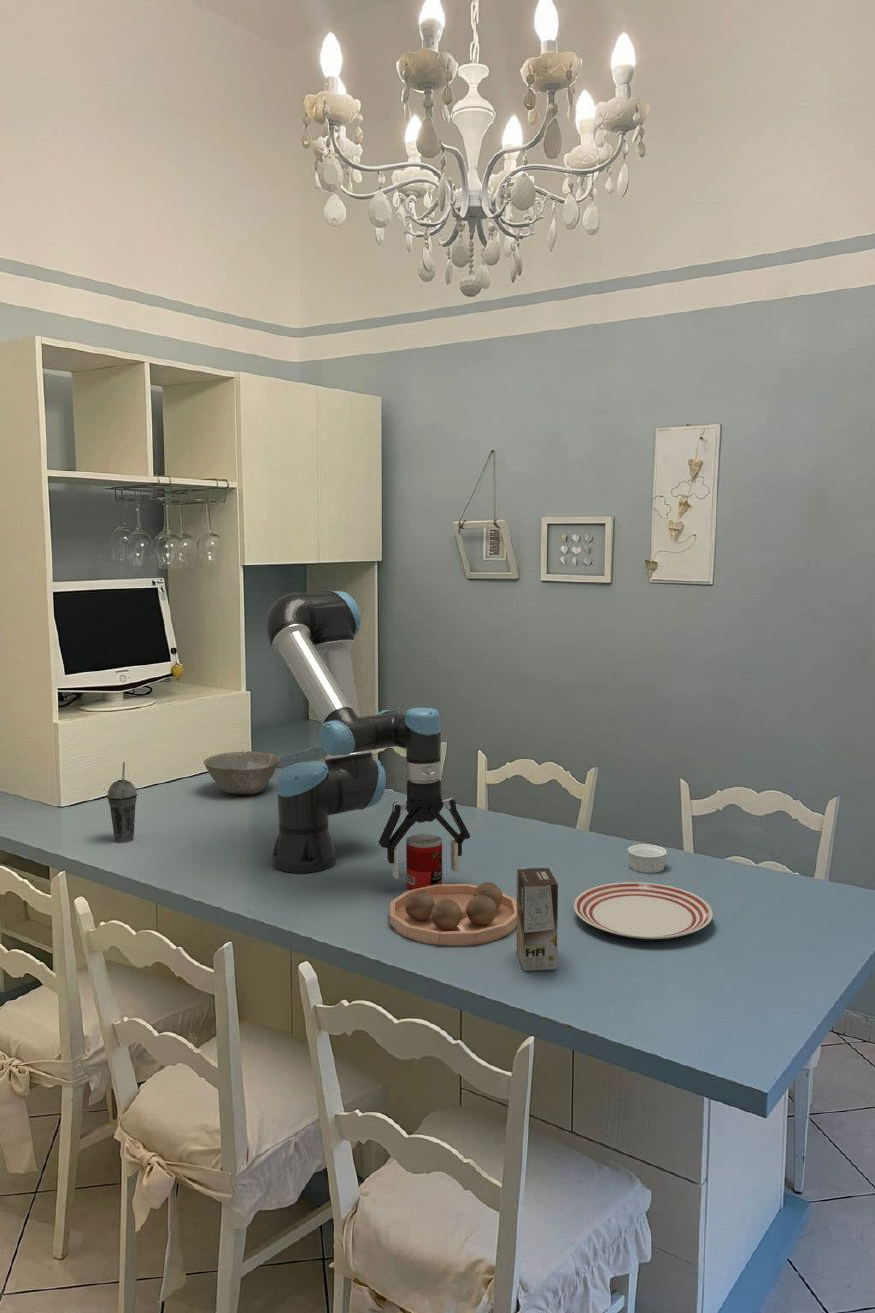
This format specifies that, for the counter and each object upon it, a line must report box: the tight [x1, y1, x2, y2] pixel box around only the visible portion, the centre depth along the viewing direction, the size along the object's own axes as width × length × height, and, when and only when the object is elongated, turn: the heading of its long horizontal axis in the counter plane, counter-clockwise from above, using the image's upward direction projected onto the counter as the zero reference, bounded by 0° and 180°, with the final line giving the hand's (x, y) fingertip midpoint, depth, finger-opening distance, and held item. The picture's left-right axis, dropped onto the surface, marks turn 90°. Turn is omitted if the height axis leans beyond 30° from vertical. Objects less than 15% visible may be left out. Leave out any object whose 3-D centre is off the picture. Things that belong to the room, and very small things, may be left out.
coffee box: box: [516, 867, 559, 972], centre depth 182 cm, size 9×6×16 cm
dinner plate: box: [573, 881, 714, 940], centre depth 201 cm, size 27×27×3 cm
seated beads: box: [405, 881, 503, 931], centre depth 201 cm, size 18×18×6 cm
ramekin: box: [627, 843, 668, 874], centre depth 232 cm, size 9×9×4 cm
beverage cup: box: [106, 761, 138, 843], centre depth 253 cm, size 7×7×20 cm
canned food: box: [405, 833, 443, 890], centre depth 219 cm, size 8×8×11 cm
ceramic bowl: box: [203, 750, 281, 796], centre depth 298 cm, size 22×23×10 cm
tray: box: [389, 883, 517, 947], centre depth 202 cm, size 26×26×2 cm
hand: (425, 873), depth 220 cm, fingers open, 13 cm apart
